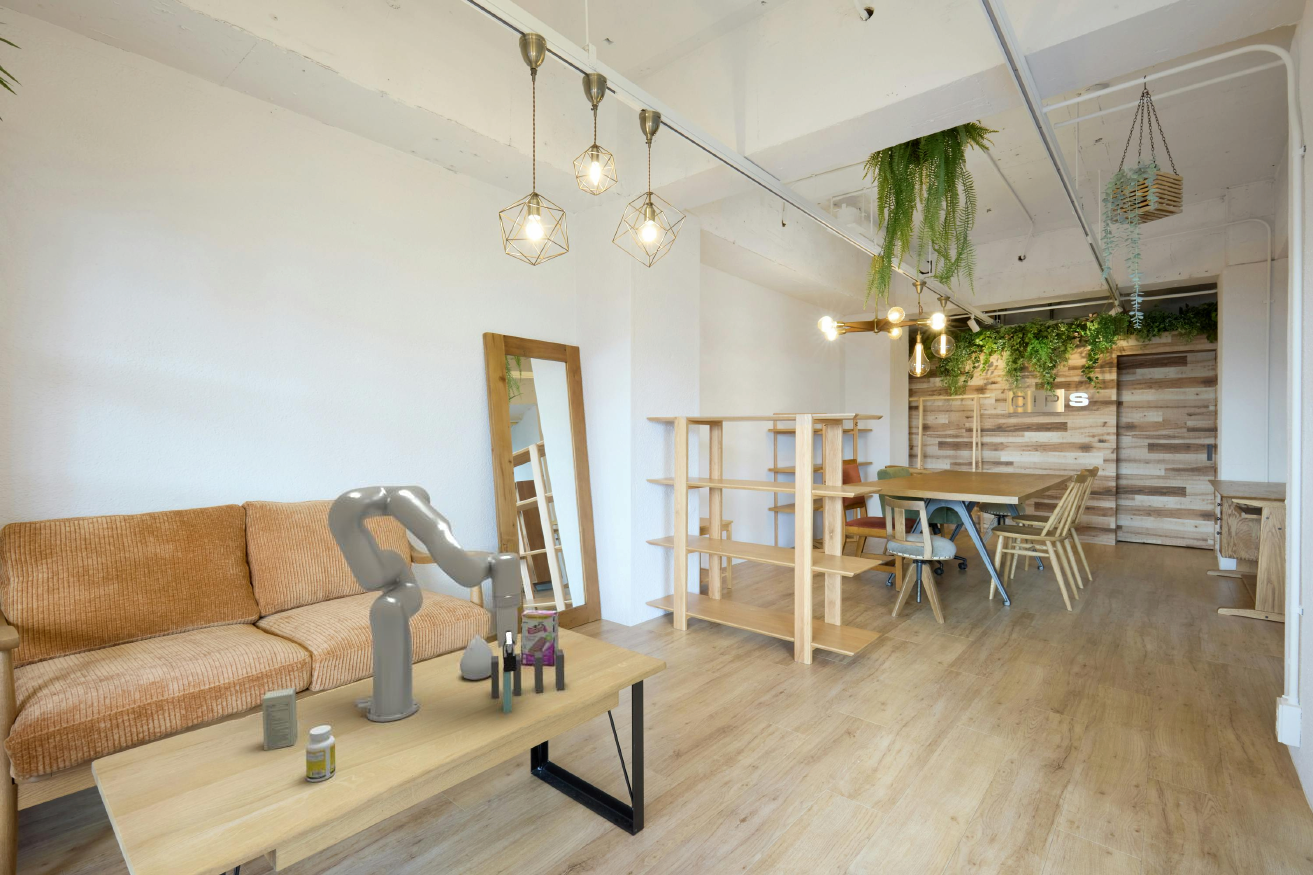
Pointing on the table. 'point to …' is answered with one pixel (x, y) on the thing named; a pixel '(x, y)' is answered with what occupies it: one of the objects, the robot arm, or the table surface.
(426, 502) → the robot arm
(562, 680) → the domino
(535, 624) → the candy bar box
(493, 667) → the domino
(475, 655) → the grey teardrop lump
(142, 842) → the table surface
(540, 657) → the domino
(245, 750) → the table surface
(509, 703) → the domino
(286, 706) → the skincare box
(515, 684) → the domino
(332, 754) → the supplement bottle
